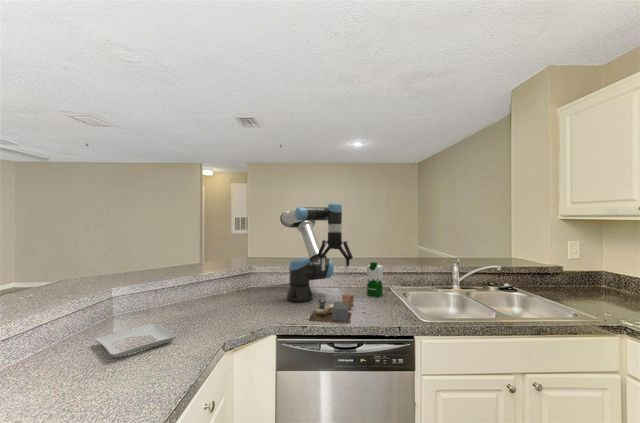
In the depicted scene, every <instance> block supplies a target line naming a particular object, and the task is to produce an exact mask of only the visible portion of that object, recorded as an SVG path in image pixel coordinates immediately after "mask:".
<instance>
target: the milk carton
mask: <svg viewBox="0 0 640 423" xmlns="http://www.w3.org/2000/svg"><path fill="white" fill-rule="evenodd" d="M383 268H384V265H383V264H382V265H381V264H378V262H375V261H373V262H372V261H371V262H370V263H369V264H368V265H367V266H366V281H367V282H366V287H367V288H366V290H367V291H366V292H367V295H366V296H369V297H370V296H371V297H374V298H375V297H376V298H379V297H380V296H382V295H383Z"/></svg>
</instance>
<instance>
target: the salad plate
mask: <svg viewBox="0 0 640 423" xmlns="http://www.w3.org/2000/svg"><path fill="white" fill-rule="evenodd" d="M145 335H151V336H153V337H154V338H155V339H157V340H156V341H155V342H152V343H148V344H145V345H142V346H138V347H135V348H132V349H129V350H126V351H123V352H121V351H119V350H118V349H115V348H114V349H113V348H112V346H113V345H115V342H114V341H117V340H120V339H123V338H127V337H131V336H132V337H134V336H135V337H138V336H145ZM176 337H178V336H177V334H176V333H173V331H171V330H169V329H167V328H165V327H163V326H161V325H160V324H158V323H156V322H154V323H153V322H152V323H150V324H145V325H142V326H137V327H133V328H128V329H125V330H121V331H117V332H113V333H110V334H106V335H102V336H99V337H96V338H95V342H96V343H97V344H99V345H100V346H101V347H103V348H104V349H105V350H106V351H107V352H108V353H109V355H110V356H111V357H112V358H123V357H122V356H124V357H126V356H125V355H128V354H131V353H134V352H138V351H141V350H144V349H147V348H150V349H152V348H151V347H153V348H155V347H154V346H157V345H160V346H162V345H165V344H168V343H170V342H171V341H173V340H175V338H176ZM111 342H114V343H113V345H112V343H111ZM164 343H165V344H164ZM161 344H162V345H161ZM157 347H158V346H157ZM147 350H148V349H147ZM144 351H145V350H144ZM141 352H142V351H141ZM138 353H139V352H138ZM131 355H132V354H131ZM128 356H129V355H128Z"/></svg>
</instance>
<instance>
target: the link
mask: <svg viewBox="0 0 640 423" xmlns="http://www.w3.org/2000/svg"><path fill="white" fill-rule="evenodd" d="M341 295H342V296H341V297H342V298H341V299H342V300H341V302H349V309H351V308H354V307H355V303H354V302H355V299H354V297H355V296H354V295H353V294H351V293H345V294H341ZM333 306H334V303H332V304H328V305H325V308H319V306H317V307H316V311H317V314H319V315H325V314H327V313H331V312H333Z"/></svg>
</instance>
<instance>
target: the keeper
mask: <svg viewBox="0 0 640 423" xmlns="http://www.w3.org/2000/svg"><path fill="white" fill-rule="evenodd" d="M317 303H319V304H318V307H319V308H325V306H326V305H325V304H326V303H327V299H325V298H319V299H317ZM333 304H334V306H333V312H331V313H327V314H325V315H319V314H317V310H313V311H312V312H311V314H310V316H309V318H308V321H309V322H324V323H339V324H340V323H341V324H351V318H352V312H350V311H349V309H350V308H349V302H342V301H334V303H333Z"/></svg>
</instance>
